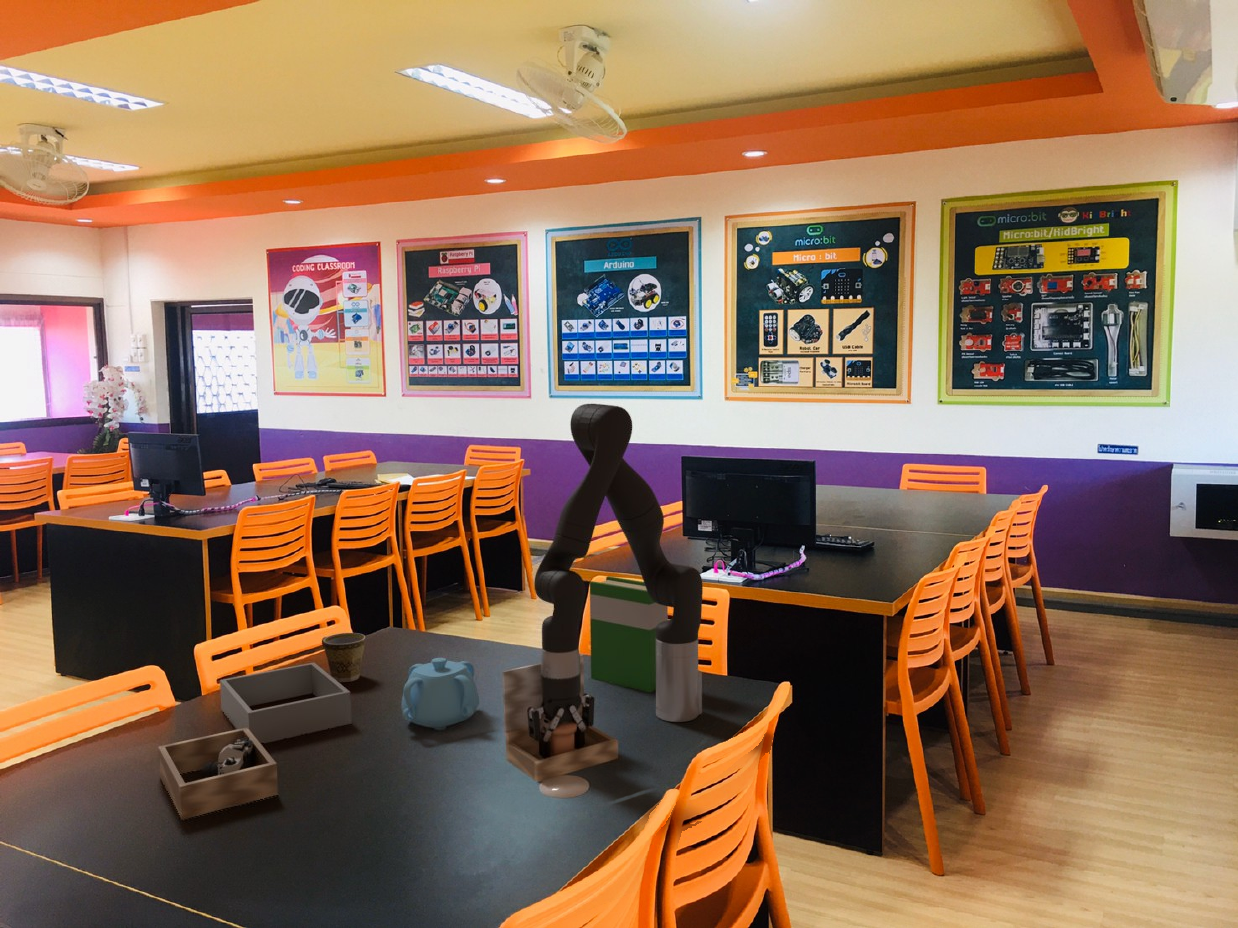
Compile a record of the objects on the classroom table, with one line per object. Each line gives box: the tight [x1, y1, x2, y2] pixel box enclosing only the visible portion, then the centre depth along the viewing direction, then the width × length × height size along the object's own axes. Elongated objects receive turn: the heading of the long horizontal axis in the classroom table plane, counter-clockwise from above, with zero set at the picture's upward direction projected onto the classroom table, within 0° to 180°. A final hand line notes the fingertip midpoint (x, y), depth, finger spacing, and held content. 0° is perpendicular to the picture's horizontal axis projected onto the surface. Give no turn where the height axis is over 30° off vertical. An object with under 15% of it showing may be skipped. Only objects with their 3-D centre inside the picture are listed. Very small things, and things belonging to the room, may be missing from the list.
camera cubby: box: [157, 727, 279, 821], centre depth 175 cm, size 16×21×6 cm
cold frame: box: [502, 653, 619, 783], centre depth 184 cm, size 18×14×18 cm
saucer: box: [538, 774, 590, 799], centre depth 173 cm, size 9×9×1 cm
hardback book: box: [589, 575, 669, 693], centre depth 229 cm, size 18×7×24 cm, turn 53°
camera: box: [200, 737, 254, 780], centre depth 174 cm, size 13×8×9 cm, turn 10°
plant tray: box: [219, 662, 353, 745], centre depth 209 cm, size 21×25×7 cm
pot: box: [549, 720, 577, 757], centre depth 184 cm, size 6×6×7 cm
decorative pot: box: [401, 657, 480, 731], centre depth 206 cm, size 16×16×14 cm
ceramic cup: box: [321, 632, 366, 683], centre depth 235 cm, size 13×10×10 cm
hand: (562, 753), depth 184 cm, fingers open, 7 cm apart
